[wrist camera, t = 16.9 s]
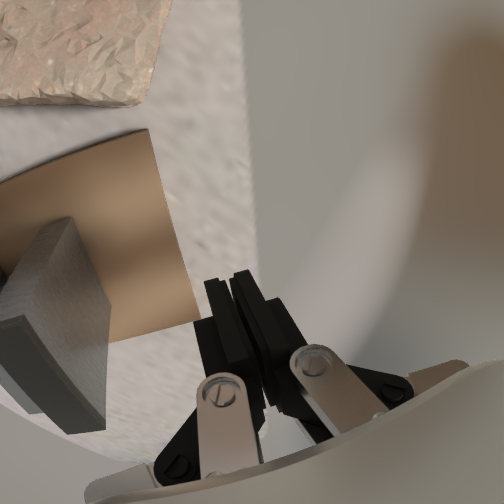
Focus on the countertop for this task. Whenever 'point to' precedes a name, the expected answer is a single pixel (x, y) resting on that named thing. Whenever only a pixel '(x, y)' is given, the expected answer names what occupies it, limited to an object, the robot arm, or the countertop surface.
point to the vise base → (107, 229)
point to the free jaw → (56, 331)
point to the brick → (79, 51)
